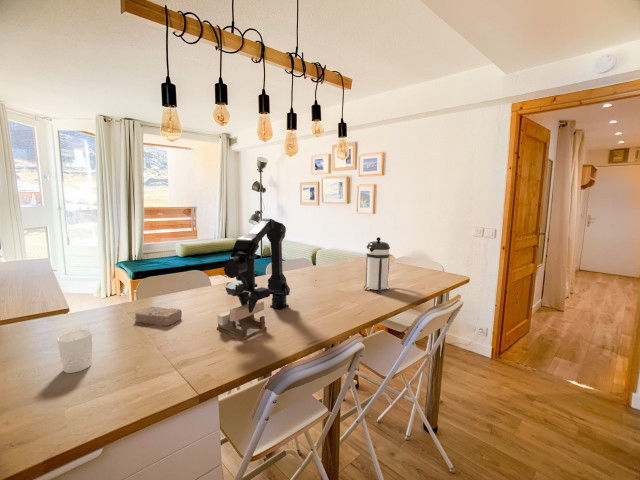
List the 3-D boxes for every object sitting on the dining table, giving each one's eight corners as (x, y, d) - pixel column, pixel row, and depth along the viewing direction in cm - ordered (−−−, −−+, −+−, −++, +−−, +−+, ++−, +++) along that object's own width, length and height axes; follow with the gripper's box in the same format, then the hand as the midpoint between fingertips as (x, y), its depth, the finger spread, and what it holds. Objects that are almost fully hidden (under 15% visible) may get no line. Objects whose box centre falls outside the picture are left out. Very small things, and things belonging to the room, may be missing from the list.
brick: (134, 322, 123) (133, 311, 123) (150, 315, 131) (149, 304, 131) (168, 327, 119) (167, 316, 119) (183, 319, 127) (182, 308, 127)
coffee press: (394, 294, 164) (397, 239, 160) (365, 293, 165) (367, 238, 161) (387, 285, 182) (390, 235, 178) (361, 284, 182) (362, 234, 178)
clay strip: (258, 308, 121) (258, 299, 121) (264, 309, 120) (263, 301, 119) (229, 319, 110) (229, 310, 110) (235, 321, 109) (234, 311, 108)
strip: (246, 312, 126) (246, 304, 126) (251, 314, 125) (251, 306, 124) (217, 323, 115) (217, 314, 115) (222, 325, 113) (222, 316, 113)
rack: (241, 319, 127) (241, 307, 127) (266, 328, 119) (266, 316, 118) (216, 329, 118) (216, 316, 117) (242, 340, 109) (241, 326, 108)
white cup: (73, 360, 94) (70, 329, 93) (100, 359, 95) (97, 329, 93) (53, 375, 86) (49, 341, 85) (83, 374, 87) (79, 341, 86)
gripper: (212, 271, 112) (214, 312, 114) (246, 280, 101) (247, 324, 103) (237, 266, 121) (238, 304, 123) (270, 273, 110) (271, 314, 112)
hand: (247, 311), depth 115 cm, fingers closed on clay strip, 3 cm apart
